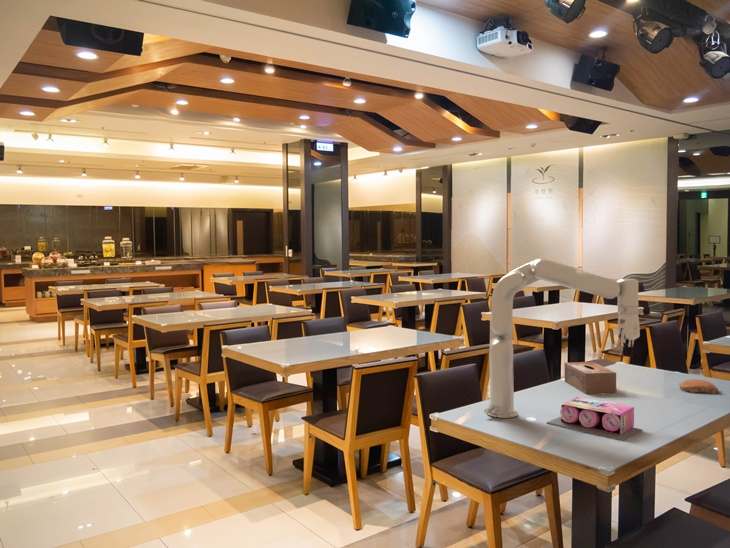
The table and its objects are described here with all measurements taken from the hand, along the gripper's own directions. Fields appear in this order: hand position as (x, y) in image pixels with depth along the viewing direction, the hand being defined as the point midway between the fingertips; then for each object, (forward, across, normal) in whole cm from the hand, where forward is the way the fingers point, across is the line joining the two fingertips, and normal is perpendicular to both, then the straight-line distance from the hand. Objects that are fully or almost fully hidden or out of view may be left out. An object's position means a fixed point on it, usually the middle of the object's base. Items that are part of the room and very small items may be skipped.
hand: (628, 356), depth 234 cm
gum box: (+21, -10, +5) cm, 24 cm away
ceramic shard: (+26, +67, -2) cm, 72 cm away
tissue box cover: (+26, +39, +36) cm, 59 cm away
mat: (+25, -19, +5) cm, 32 cm away
